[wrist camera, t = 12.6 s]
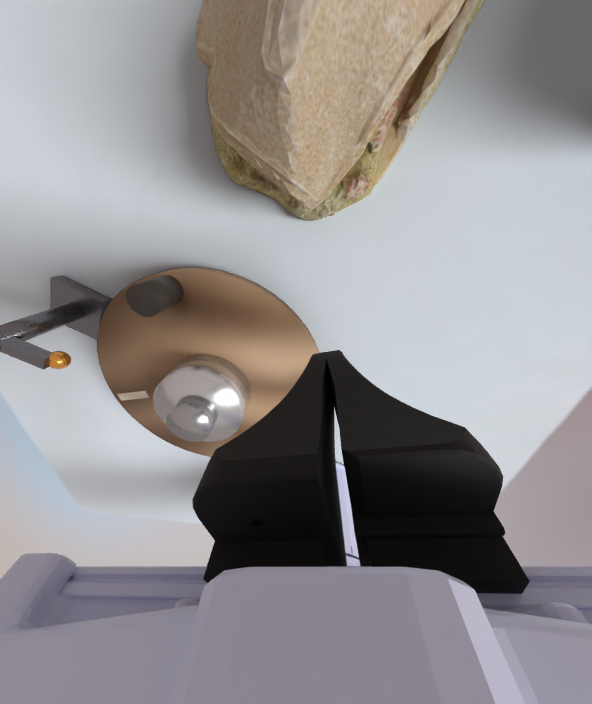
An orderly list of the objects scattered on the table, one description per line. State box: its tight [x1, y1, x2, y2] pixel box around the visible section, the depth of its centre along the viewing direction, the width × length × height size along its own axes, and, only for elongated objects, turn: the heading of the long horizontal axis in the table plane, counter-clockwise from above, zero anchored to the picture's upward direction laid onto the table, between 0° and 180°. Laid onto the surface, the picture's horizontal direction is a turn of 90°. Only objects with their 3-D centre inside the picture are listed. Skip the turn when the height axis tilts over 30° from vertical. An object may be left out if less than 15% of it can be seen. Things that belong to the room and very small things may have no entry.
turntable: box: [97, 267, 319, 457], centre depth 20 cm, size 20×20×4 cm
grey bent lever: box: [0, 275, 111, 369], centre depth 18 cm, size 4×6×7 cm, turn 61°
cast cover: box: [153, 354, 251, 442], centre depth 19 cm, size 7×7×5 cm
